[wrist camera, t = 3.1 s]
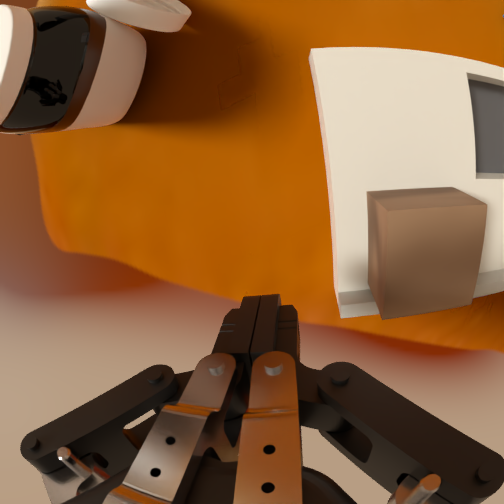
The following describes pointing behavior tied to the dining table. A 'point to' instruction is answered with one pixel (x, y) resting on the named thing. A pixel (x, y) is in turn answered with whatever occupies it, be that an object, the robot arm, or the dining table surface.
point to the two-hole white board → (406, 147)
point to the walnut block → (423, 249)
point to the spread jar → (76, 62)
